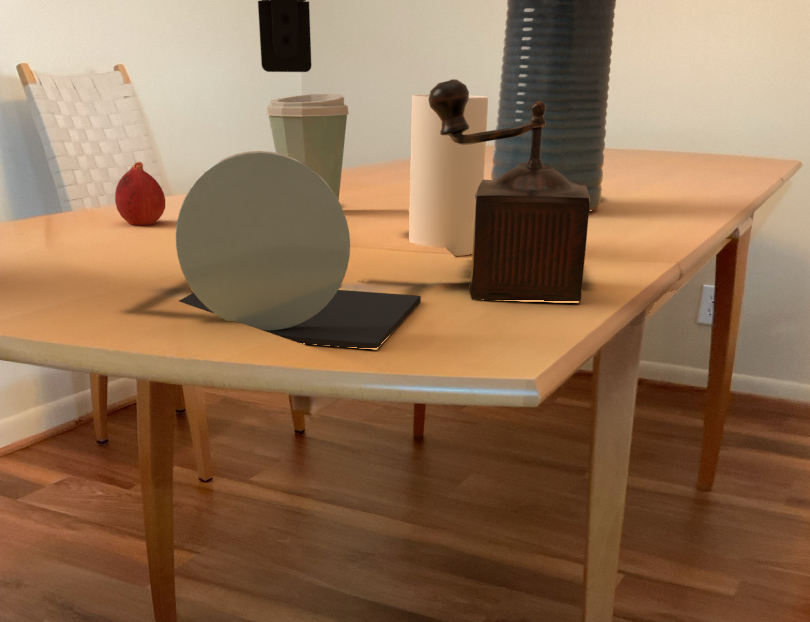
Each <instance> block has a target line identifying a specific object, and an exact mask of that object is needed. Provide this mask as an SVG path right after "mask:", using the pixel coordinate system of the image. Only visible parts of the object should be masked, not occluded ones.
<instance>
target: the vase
mask: <svg viewBox="0 0 810 622" xmlns="http://www.w3.org/2000/svg"><path fill="white" fill-rule="evenodd" d="M506 1H507V2H506V8H507V9H506V13H505V17H506V20H505V29H504V39H503V48H502V57H501V58H502V59H501V62H502V64H501V69H500V70H501V74H500V83H499V92H498V102H497V105H498V108H497V117H496V125H495V128H494V130H499V129H506V128H515V127H518V126H521V125H525V124H529V123H530V119H531V118H532V117H533V114H532V109H531V107H532V105H533V104H534V102H537V101H542V102H544V104H545V105H546V110H545V113H544V115H543V117H544V119H545V121H546V126H544V127H543V128H542V137H541V150H540V159H541V161H542V164H547V165H550V166H551V167H553V168H554V169H555V170H556V171H558V172H560V173H561V174H562V175H563V176H564V177H566V178H567V179H568V180H569V181H571V182H574V183H585V185H586V187H587V190H588V193H589V197H590V205H589V211H590V210H593V211H595V210H596V209H597V208H598V207H599V206H600V204H601V200H602V191H603V189H602V182H603V178H604V177H603V176H604V171H603V167H604V164H605V154H604V151H605V150H606V140H605V138H606V136H607V130H606V129H607V128H606V125H607V116H608V111H607V110H608V106H609V103H608V100H609V90H610V85H609V84H610V80H611V78H610V74H611V64H612V55H613V49H612V47H613V42H614V41H613V37H614V27H615V22H614V20H615V17H616V16H615V15H616V13H615V10H616V6H617V0H506ZM531 138H532V130H530V131H528V132H526V133H524V134H522V135H520V136H516V137H510V138H504V139H498V140H493V146H494V149H493V151H492V167H491V171H490V172H491V173H490V178H491V180H497V179H498V178H499V177H500V176H501V175H502V174H504V173H506V172H508V171H509V170H511V169H513V168H515V167H516V166H518V165H519V164H520V163H528V161H529V159H530V152H531ZM594 209H595V210H594Z"/></svg>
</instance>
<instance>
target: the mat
mask: <svg viewBox="0 0 810 622" xmlns="http://www.w3.org/2000/svg"><path fill="white" fill-rule="evenodd" d="M421 298H422V296H421V295H418V294H417V295H415V294H403V293H388V292H375V291H363V290H362V291H361V290H346V289H338V291H337V293H336V294H335V296H334V297H333V298H332V300H331V301H330V302H329V303H328V304H327V306H326V307H324V308H323V309H322V310H321V311H320V312H319V313H318V314H316V315H315V316H313V317H312V318H310V319H309V320H307V321H305V322H303V323H301V324H299V325H296V326H293V327H290V328H286V329H281V330H272V331H265V332H266V333H267V334H268V333H269V334H272V335H275V336H277V337H280V338H283V339H285V340H289V341H292V342H294V343H297V344H300V343H302V344H301V345H303V343H305V344H317V345H330V346H339V347H357V348H377V347H379V346H380V345H381V343H382V342H383V341H384V340H385V339H386V338H387V337H388V336H389V335H390V334H391V333H392V332H393V331H394V330H395V329H396V328H397V327H398V326H399V327H400V325H402V324H403V322H404V321H406V319H407V318H408V317H409V316H410V314H412V312H413V311H414V310H415V309H416V308H417V307H418V305H420V304H421V300H422V299H421ZM178 302H179V303H183V304H185V305H187V306H191V307H194V308H196V309H198V310H199V309H200V310H202V311H205V312H208V313H210V314H214V315H216V314H215V313H213V312H212V311H211V310H210V309H208V308H207V307H206V306H205V305H204V304H203V303H202V302H201V301H200V300H199V299H198V297H197V296H196V295H195V293H194V292H191V293H190V294H188V295H186V296H184V297H183V298H180V299H178ZM415 307H416V308H415ZM407 316H408V317H407ZM406 317H407V318H406ZM405 318H406V319H405ZM403 320H404V321H403ZM399 327H398V328H399ZM398 328H397V329H398ZM397 329H396V330H397ZM396 330H395V331H396ZM395 331H394V332H395ZM394 332H393V333H394ZM393 333H392V334H393ZM392 334H391V335H392Z"/></svg>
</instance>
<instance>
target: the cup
mask: <svg viewBox="0 0 810 622" xmlns="http://www.w3.org/2000/svg"><path fill="white" fill-rule="evenodd" d="M429 95H430V93H422V94H421V93H419V94H418V93H417V94H412V95H411V116H410V117H411V118H410V120H411V121H410V126H411V127H410V161H409V162H410V163H409V164H410V165H409V172H410V173H409V213H408V214H409V215H408V216H409V218H408V219H409V220H408V242H409V243H411V244H414V245H417V246H422V247H429V248H440V249H441V248H443V249H446V250H447V251H448V252H449V253H451V255H452V256H454V257H461V256H462V257H463V256H471V255H473V238H474V222H475V207H476V199H475V194H476V192H477V190H478V187H479V185H480V183H481V181H482V180H485V179H484V177H485V163H486V161H485V160H486V144H487V141H486V142H480V143H475V144H467V145H461V144H458V143H455V142H454V141H453V140H451V137H450V136H448V135H441V134H440V131H441V129H442V121H441V119H440V118H439V116H438V115H437V114H436V113H435V112H434V110H433V109H432V108H431V107H430V104H429V100H428V99H429ZM488 106H489V97H488V96H487V95H486V96H485V95H477V94H476V95H475V94H469V99H468V102H467V104H466V106H465V111H464V118H465V120H466V122H467V124H468V125H469V129H468V130H466V131H465V132H463V135H467V134H475V133H480V132H486V131H487V127H488V126H487V125H488V108H489V107H488ZM470 254H471V255H470Z"/></svg>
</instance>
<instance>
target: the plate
mask: <svg viewBox="0 0 810 622" xmlns="http://www.w3.org/2000/svg"><path fill="white" fill-rule="evenodd" d="M178 212H179V213H178V217H177V221H176V227H175V248H176V256H177V259H178V263H179V266H180V270H181V272H182V274H183V276H184V279H185V281H186V283H187V284H188V286H189V288H190V290H191V291H192V293H195V295H196V296H197V297H198V299H199V300H200V301H201V302H202V303H203V304H204V305H205V306H206V307H207V308H208V309H210V310H211V311H212V312H213V313H212V314H214V313H215V314H214V315H216V316H217V317H218V318H221V319H222V320H224V321H225V322H237V323H240V324H243V325H246V326H249V327H251V328H254V329H258V330H260V331H263V332H266V331H272V330H281V329H286V328H290V327H293V326H296V325H299V324H301V323H303V322H305V321H307V320H309V319H310V318H312V317H313V316H315V315H316V314H318V313H319V312H320V311H321V310H322V309H323V308H324V307H326V306H327V304H328V303H329V302H330V301H331V300H332V298H333V297H334V296H335V294H336V293H337V291H338V290H340V288H341V286H342V283H343V281H344V279H345V277H346V273H347V271H348V267H349V261H350V256H351V255H350V254H351V235H350V229H349V224H348V221H347V217H346V214H345V212H344V209H343V206H342V205H341V203H340V200H339V201H338V199H337V197H336V196H335V194H334V193H333V191H332V189H331V188H330V187H329V186H328V184H327V183H326V182H325V181H324V180H323V179H322V178H321V177H320V176H319V175H318V174H317V173H316V172H315V171H314V170H312V169H311V168H309V167H308V166H307V165H305V164H303V163H302V162H300V161H298V160H296V159H294V158H291V157H289V156H286V155H283V154H279V153H276V152H274V151H264V150H252V151H243V152H240V153H235V154H232V155H230V156H227V157H225V158H222V159H221V160H219V161H217V162H215V163H214V164H213V165H211V166H209V167H208V168H207V169H206V170H204V171H203V172H202V174H200V175H199V177H197V178H196V179H195V181H194V182H193V184H192V185H191V187H189V190H188V191H187V192H186V195H185V197H184V199H183V201H182V203H181V206H180V209H179V211H178Z"/></svg>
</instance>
